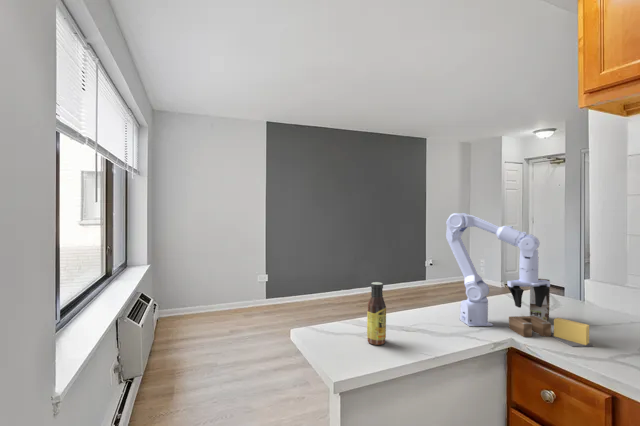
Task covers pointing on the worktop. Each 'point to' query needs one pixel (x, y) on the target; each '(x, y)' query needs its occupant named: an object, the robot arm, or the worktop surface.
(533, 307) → the coffee box
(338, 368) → the worktop surface
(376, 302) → the sauce bottle
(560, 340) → the mat
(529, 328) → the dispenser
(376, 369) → the worktop surface
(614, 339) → the worktop surface
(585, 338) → the yellow bar
